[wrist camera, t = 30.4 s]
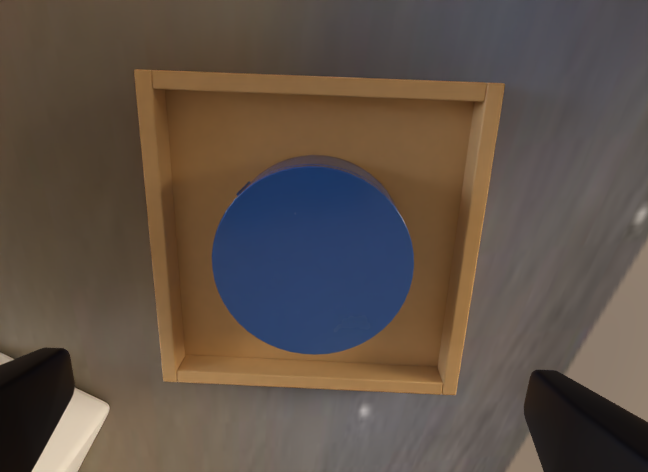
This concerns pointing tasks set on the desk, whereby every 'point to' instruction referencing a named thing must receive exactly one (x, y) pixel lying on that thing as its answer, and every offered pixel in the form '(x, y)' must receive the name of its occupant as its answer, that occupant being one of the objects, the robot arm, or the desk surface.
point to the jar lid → (313, 256)
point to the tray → (329, 140)
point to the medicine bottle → (71, 432)
